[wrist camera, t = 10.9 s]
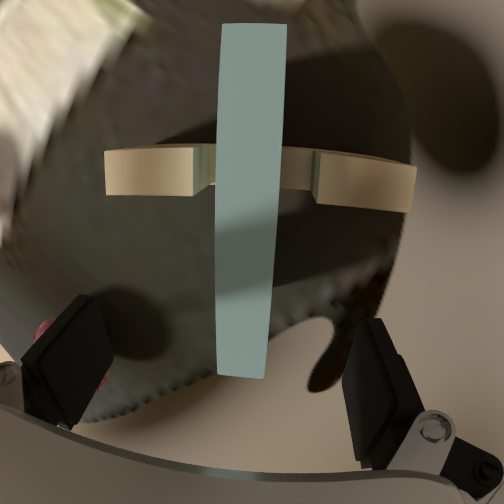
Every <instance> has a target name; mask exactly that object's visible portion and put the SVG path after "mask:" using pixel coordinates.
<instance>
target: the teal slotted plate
mask: <svg viewBox="0 0 504 504" xmlns="http://www.w3.org/2000/svg"><path fill="white" fill-rule="evenodd" d="M286 37H287V25H286V24H262V23H236V24H222V37H221V53H220V70H219V90H218V113H217V141H216V183H215V302H216V344H217V373H218V374H220V375H229V376H238V377H249V378H260V379H264V373H265V363H266V351H267V341H268V330H269V319H270V307H271V295H272V283H273V270H274V257H275V244H276V230H277V215H278V200H279V185H280V168H281V151H282V132H283V112H284V90H285V66H286Z"/></svg>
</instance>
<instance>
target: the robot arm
mask: <svg viewBox="0 0 504 504" xmlns="http://www.w3.org/2000/svg"><path fill="white" fill-rule="evenodd" d="M21 361H22V363H23V365H22V366H21V367H20V366H19V364H17V363H16V362H13V361H6V362H3V363H0V504H504V477H503V474H504V471H503V466H502V464H501V462H500V461H499V459H498V458H496V457H495V456H494V455H492V454H490V453H488V452H486V451H483V450H481V449H479V448H477V447H475V446H473V445H471V444H469V443H467V442H466V441H464V440H462V439H460V438H457V437H456V436H455V435H456V427H455V424H454V422H453V420H452V419H451V418H450V417H449V416H448V415H447V414H445V413H443V412H441V411H437V410H427V411H425V409H424V406H423V404H422V401H421V399H420V397H419V394H418V392H417V389H416V387H415V384H414V382H413V380H412V377H411V375H410V373H409V371H408V368H407V366H406V364H405V361H404V359H403V358H402V356H401V355H399V354H397V351H396V349H395V347H394V345H393V342H392V340H391V338H390V336H389V334H388V332H387V329H386V327H385V325H384V323H383V321H382V319H380V318H365V319H364V321H363V322H359V324H358V326H357V330H356V333H355V337H354V340H353V344H352V347H351V351H350V354H349V357H348V361H347V364H346V367H345V370H344V373H343V376H342V389H343V393H344V398H345V403H346V409H347V415H348V419H349V425H350V431H351V437H352V442H353V449H354V454H355V459H356V461H360V463H361V468H362V469H365V468H372V470H370V471H353V472H339V473H338V472H337V473H264V472H249V471H237V470H227V469H219V468H211V467H204V466H198V465H191V464H186V463H179V462H175V461H170V460H165V459H160V458H155V457H151V456H147V455H143V454H139V453H135V452H132V451H128V450H124V449H121V448H117V447H114V446H110V445H107V444H104V443H101V442H98V441H95V440H92V439H89V438H86V437H83V436H81V435H78V434H75V433H72V432H70V431H71V430H72V428H73V426H74V425H76V424H78V422H79V421H80V419H81V417H82V415H83V413H84V411H85V410H86V408H87V406H88V404H89V402H90V401H91V399H92V397H93V395H94V394H95V392H96V390H97V388H98V387H99V385H100V383H101V381H102V380H103V378H104V376H105V374H106V373H107V371H108V369H109V368H110V366H111V364H112V362H113V352H112V348H111V345H110V342H109V338H108V335H107V331H106V327H105V323H104V320H103V316H102V312H101V308H100V304H99V302H98V301H97V300H96V298H95V297H94V296H90V295H84V294H80V295H78V296H77V297H76V298H75V300H74V301H73V302H72V303H71V304H70V305H69V306H68V307H67V308H66V309H65V310H64V311H63V312H62V313H61V314H60V315H59V316H58V317H57V318H56V320H55V321H54V322H53V323H52V324H51V325H50V326H49V327H48V328H47V329H46V330H45V332H44V333H43V334H42V335H41V336H40V337H39V338H38V339H37V341H36V342H35V343H34V344H33V345H32V346H31V347H30V349H29V350H28V351H27V352H26V353H25V354H24V356H23V357H22V358H21ZM57 425H59V426H60V427H62V428H64V429H62V428H60V427H57ZM65 429H67V430H69V431H67V430H65Z"/></svg>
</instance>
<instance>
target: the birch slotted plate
mask: <svg viewBox="0 0 504 504" xmlns="http://www.w3.org/2000/svg"><path fill="white" fill-rule="evenodd" d="M104 154H105V181H106V195H168V196H194V195H195V194H197V193H198V192H199V191H201V190H202V189H204V188H205V187H206V186H208V185H215V183H216V144H206V143H198V144H154V145H145V146H137V147H130V148H123V149H116V150H109V151H104ZM416 175H417V167H415V166H412V165H408V164H404V163H401V162H397V161H393V160H389V159H385V158H381V157H377V156H371V155H364V154H356V153H348V152H340V151H331V150H322V149H311V148H300V147H287V146H282V151H281V168H280V185H279V188H285V189H299V190H310V192H311V194H312V195H313V197H314V199H315V201H316V203H318V204H329V205H340V206H350V207H360V208H369V209H378V210H387V211H396V212H404V213H411V209H412V203H413V197H414V190H415V182H416Z"/></svg>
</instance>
